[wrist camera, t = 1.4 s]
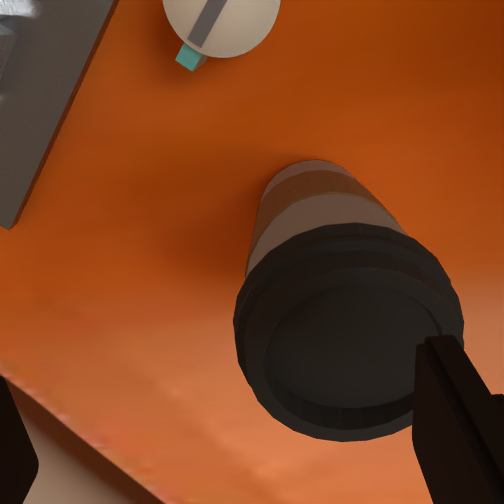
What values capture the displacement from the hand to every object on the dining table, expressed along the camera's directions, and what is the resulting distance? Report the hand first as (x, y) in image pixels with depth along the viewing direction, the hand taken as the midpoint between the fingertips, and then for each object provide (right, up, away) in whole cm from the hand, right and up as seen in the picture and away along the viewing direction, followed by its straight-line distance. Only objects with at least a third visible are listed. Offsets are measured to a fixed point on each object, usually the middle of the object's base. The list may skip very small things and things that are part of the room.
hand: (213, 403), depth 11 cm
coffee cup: (+4, +6, +19) cm, 20 cm away
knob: (0, +16, +14) cm, 22 cm away
